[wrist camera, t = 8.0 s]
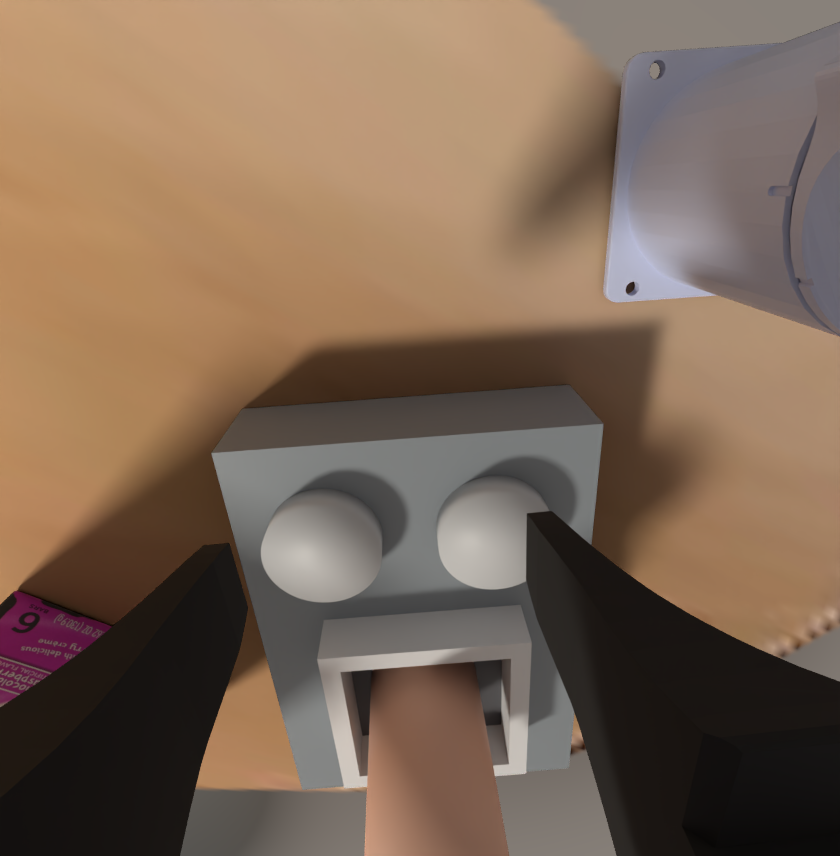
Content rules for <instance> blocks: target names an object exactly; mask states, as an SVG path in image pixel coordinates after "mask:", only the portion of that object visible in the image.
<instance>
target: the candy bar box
mask: <svg viewBox="0 0 840 856" xmlns="http://www.w3.org/2000/svg"><path fill="white" fill-rule="evenodd" d="M111 627H112V626H109V625H107V624H104V623H101V622H99V621H96V620H93V619H90V618H88V617H85V616H83V615H80V614H78V613H75V612H72V611H70V610H67V609H64V608H62V607H59V606H56V605H54V604H51V603H49V602H46V601H44V600H41V599H38V598H35V597H33V596H30V595H28V594H25V593H22V592H19V591H14V592H13V593H12V594H11V595H10V596H9V597H8V598H7V599H6V600H5V601H4V602H3V603H2V604H1V605H0V707H1V706H3V705H4V704H6V703H7V702H9V701H10V700H12V699H13V698H15V697H17V696H18V695H20V694H21V693H23V692H24V691H26V690H27V689H29V688H30V687H32V686H33V685H35V684H37V683H38V682H40V681H41V680H43V679H44V678H45V677H47V676H48V675H50V674H51V673H53V672H54V671H55V670H57V669H58V668H60V667H61V666H62V665H64V664H65V663H66V662H68V661H69V660H71V659H72V658H73V657H75V656H76V655H77V654H79V653H80V652H81V651H83V650H84V649H85V648H87V647H88V646H89V645H90V644H92V643H93V642H94V641H95V640H97V639H98V638H99V637H100V636H102V635H103V634H104V633H105V632H106V631H108V630H109V629H110V628H111Z"/></svg>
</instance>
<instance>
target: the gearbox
mask: <svg viewBox="0 0 840 856" xmlns="http://www.w3.org/2000/svg"><path fill="white" fill-rule="evenodd" d="M603 425H604V424H603V423H602V421H601V420H600V419H599V418H598V417H597V416H596V415H595V413H594V412H593V411H592V410H591V409H590V408H589V407H588V405H587V404H586V403H585V402H584V401H583V400H582V399H581V397H580V396H579V395H578V394H577V393H576V392H575V390H574V389H573V388H572V387H571V386H570V385H558V386H544V387H531V388H517V389H503V390H490V391H476V392H463V393H449V394H436V395H422V396H409V397H395V398H381V399H368V400H354V401H341V402H327V403H314V404H300V405H287V406H273V407H259V408H246V409H242V410H241V411H240V413H239V414H238V416H237V417H236V418H235V420H234V421H233V423H232V424H231V426H230V427H229V428H228V430H227V431H226V433H225V434H224V436H223V437H222V438H221V440H220V441H219V443H218V444H217V446H216V447H215V448H214V450H213V451H212V453H211V454H212V458H213V461H214V465H215V469H216V472H217V476H218V480H219V483H220V487H221V491H222V495H223V498H224V502H225V506H226V509H227V513H228V517H229V520H230V524H231V528H232V531H233V535H234V539H235V543H236V546H237V550H238V554H239V557H240V561H241V565H242V568H243V572H244V576H245V579H246V583H247V587H248V591H249V594H250V598H251V602H252V605H253V609H254V613H255V616H256V620H257V624H258V627H259V631H260V635H261V639H262V642H263V646H264V650H265V653H266V657H267V661H268V664H269V668H270V672H271V675H272V679H273V683H274V687H275V690H276V694H277V698H278V701H279V705H280V709H281V712H282V716H283V720H284V723H285V727H286V731H287V735H288V738H289V742H290V746H291V749H292V753H293V757H294V760H295V764H296V768H297V771H298V775H299V779H300V783H301V786H302V790H305V789H318V788H330V787H342V786H344V788H356V787H367V777H368V750H369V724H370V697H371V676H372V671H373V670H374V669H386V668H399V667H412V666H424V665H437V664H450V663H462V662H473V663H474V665H475V668H476V674H477V679H478V685H479V690H480V696H481V701H482V707H483V713H484V718H485V724H486V729H487V735H488V740H489V746H490V752H491V757H492V763H493V768H494V774H495V776H503V775H514V774H526V771H539V770H551V769H563V768H569V760H570V750H571V740H572V730H573V721H574V710H573V707H572V704H571V702H570V699H569V697H568V694H567V692H566V689H565V687H564V685H563V682H562V680H561V677H560V675H559V672H558V670H557V667H556V665H555V663H554V660H553V658H552V655H551V653H550V650H549V648H548V645H547V643H546V640H545V638H544V636H543V633H542V631H541V628H540V626H539V623H538V620H537V618H536V615H535V611H534V607H533V604H532V600H531V597H530V593H529V589H528V585H527V581H526V532H527V513H535V512H545V511H552V512H554V513H555V514H556V515H557V516H558V517H559V518H561V519H562V520H563V521H564V522H565V523H566V524H567V525H569V526H570V527H571V528H572V529H573V530H574V531H575V532H576V533H578V534H579V535H580V536H581V537H582V538H583V539H585V540H586V541H587V542H588V543H589V544H590V545H591V543H592V533H593V524H594V514H595V504H596V494H597V484H598V474H599V464H600V455H601V445H602V435H603Z"/></svg>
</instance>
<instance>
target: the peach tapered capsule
mask: <svg viewBox="0 0 840 856" xmlns="http://www.w3.org/2000/svg"><path fill="white" fill-rule="evenodd" d="M366 805H367V806H366V831H365V856H509V852H508V846H507V841H506V835H505V829H504V824H503V819H502V813H501V807H500V802H499V796H498V791H497V785H496V780H495V774H494V768H493V763H492V757H491V752H490V746H489V740H488V735H487V729H486V724H485V718H484V713H483V707H482V701H481V696H480V690H479V685H478V679H477V674H476V668H475V665H474V663H473V662H462V663H450V664H437V665H424V666H412V667H399V668H386V669H374V670H373V671H372V676H371V697H370V724H369V750H368V777H367V804H366Z"/></svg>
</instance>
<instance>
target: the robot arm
mask: <svg viewBox="0 0 840 856" xmlns="http://www.w3.org/2000/svg"><path fill="white" fill-rule="evenodd" d="M653 62H654V63H657V64H658V65H659V67H660V73H659V76H658V77H657V79H652V77H651V76H650V73H649V69H650V66H651V64H652V63H653ZM630 282H634V283H635V288H634V290H633V291H632V292H631V293H628V294H627V293H626V286H627V285H628V284H629V283H630ZM603 291H604V295H605V297H606V298H607V299H609V300H610V301H612V302H631V301H645V300H659V299H673V298H686V297H700V296H714V295H718V296H721V297H724V298H727V299H730V300H733V301H736V302H739V303H742V304H745V305H748V306H751V307H754V308H756V309H759V310H762V311H765V312H768V313H771V314H774V315H777V316H780V317H783V318H786V319H789V320H792V321H795V322H798V323H801V324H804V325H807V326H810V327H813V328H816V329H819V330H822V331H824V332H827V333H830V334H833V335H836V336H839V337H840V22H838V23H835V24H832V25H830V26H827V27H825V28H822V29H819V30H816V31H814V32H811V33H808V34H806V35H803V36H800V37H798V38H795V39H792V40H790V41H787V42H784V43H775V44H760V45H745V46H730V47H715V48H701V49H687V50H686V49H685V50H670V51H655V52H643V53H640V54H637V55H635V56H633V57H632V58H631V59H630V60H628V62H627V63H626V65H625V67H624V71H623V75H622V86H621V98H620V109H619V120H618V131H617V142H616V153H615V164H614V175H613V187H612V198H611V209H610V220H609V231H608V242H607V253H606V264H605V276H604V287H603ZM526 581H527V585H528V589H529V593H530V597H531V600H532V604H533V607H534V611H535V615H536V618H537V620H538V623H539V626H540V628H541V631H542V633H543V636H544V638H545V640H546V643H547V645H548V648H549V650H550V653H551V655H552V658H553V660H554V663H555V665H556V667H557V670H558V672H559V675H560V677H561V680H562V682H563V685H564V687H565V689H566V692H567V694H568V697H569V699H570V702H571V704H572V707H573V710H574V712H575V715H576V718H577V721H578V723H579V727H580V730H581V733H582V737H583V740H584V743H585V746H586V750H587V753H588V756H589V760H590V762H591V766H592V769H593V773H594V776H595V780H596V783H597V787H598V790H599V794H600V797H601V800H602V804H603V807H604V811H605V815H606V818H607V822H608V826H609V829H610V833H611V837H612V840H613V844H614V848H615V851H616V855H617V856H840V682H839V681H836V680H834V679H831V678H828V677H826V676H823V675H820V674H818V673H815V672H812V671H809V670H807V669H804V668H801V667H799V666H796V665H794V664H792V663H789V662H787V661H785V660H782V659H780V658H778V657H776V656H773V655H771V654H769V653H766V652H764V651H762V650H759V649H757V648H755V647H753V646H751V645H749V644H747V643H744V642H742V641H740V640H738V639H736V638H734V637H732V636H730V635H728V634H726V633H724V632H722V631H720V630H718V629H716V628H715V627H713V626H711V625H709V624H707V623H705V622H703V621H701V620H699V619H698V618H696V617H694V616H692V615H690V614H689V613H687V612H685V611H683V610H682V609H680V608H679V607H677V606H675V605H674V604H672V603H670V602H669V601H667V600H666V599H664V598H662V597H661V596H659V595H657V594H656V593H654V592H653V591H651V590H650V589H648V588H647V587H645V586H644V585H643V584H641V583H640V582H638V581H637V580H636V579H634V578H633V577H631V576H630V575H629V574H627V573H626V572H624V571H623V570H622V569H620V568H619V567H618V566H616V565H615V564H614V563H612V562H611V561H610V560H609V559H607V558H606V557H605V556H604V555H603V554H601V553H600V552H599V551H598V550H596V549H595V548H594V547H593V546H592V545H590V544H589V543H588V542H587V541H586V540H585V539H583V538H582V537H581V536H580V535H579V534H578V533H576V532H575V531H574V530H573V529H572V528H571V527H570V526H569V525H567V524H566V523H565V522H564V521H563V520H562V519H561V518H559V517H558V516H557V515H556V514H555V513H554V512H552V511H545V512H535V513H527V532H526ZM247 611H248V606H247V602H246V599H245V595H244V592H243V589H242V585H241V582H240V578H239V575H238V572H237V568H236V565H235V561H234V558H233V554H232V551H231V548H230V544H229V543H224V544H214V545H204V546H203V547H201V548H200V549H199V550H198V551H197V552H195V553H194V554H193V555H192V556H191V557H190V558H189V559H188V560H186V561H185V562H184V563H183V564H182V565H181V566H180V567H179V568H178V569H177V570H176V571H175V572H173V573H172V574H171V575H170V576H169V577H168V578H167V579H166V580H165V581H164V582H163V583H162V584H160V585H159V586H158V587H157V588H156V589H155V590H154V591H153V592H152V593H151V594H149V595H148V596H147V597H146V598H145V599H144V600H143V601H142V602H141V603H139V604H138V605H137V606H136V607H135V608H134V609H133V610H131V611H130V612H129V613H128V614H127V615H125V616H124V617H123V618H122V619H121V620H119V621H118V622H117V623H116V624H115V625H114V626H112V627H111V628H110V629H109V630H108V631H106V632H105V633H104V634H103V635H102V636H100V637H99V638H98V639H97V640H95V641H94V642H93V643H92V644H90V645H89V646H88V647H87V648H85V649H84V650H83V651H81V652H80V653H79V654H77V655H76V656H75V657H73V658H72V659H71V660H69V661H68V662H66V663H65V664H64V665H62V666H61V667H60V668H58V669H57V670H55V671H54V672H53V673H51V674H50V675H48V676H47V677H45V678H44V679H43V680H41V681H40V682H38V683H37V684H35V685H33V686H32V687H30V688H29V689H27V690H26V691H24V692H23V693H21V694H20V695H18V696H17V697H15V698H13V699H12V700H10V701H9V702H7V703H6V704H4V705H3V706H1V707H0V856H180V853H181V848H182V844H183V839H184V835H185V830H186V826H187V820H188V817H189V812H190V808H191V804H192V799H193V796H194V791H195V787H196V783H197V779H198V775H199V771H200V767H201V763H202V760H203V756H204V753H205V750H206V746H207V743H208V740H209V737H210V734H211V731H212V729H213V726H214V723H215V720H216V717H217V714H218V711H219V708H220V705H221V703H222V700H223V697H224V694H225V691H226V688H227V685H228V682H229V680H230V677H231V674H232V671H233V668H234V665H235V662H236V659H237V656H238V653H239V650H240V646H241V641H242V637H243V632H244V627H245V622H246V616H247Z"/></svg>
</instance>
